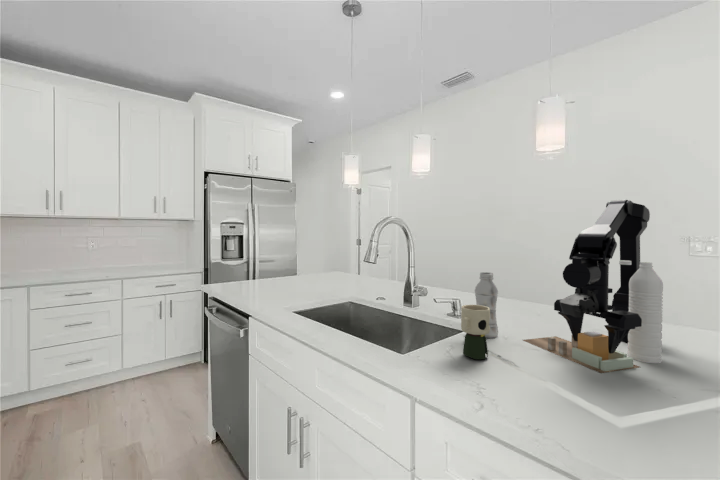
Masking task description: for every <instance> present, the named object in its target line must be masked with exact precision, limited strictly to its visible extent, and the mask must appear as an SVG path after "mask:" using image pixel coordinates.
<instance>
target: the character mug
mask: <svg viewBox="0 0 720 480" xmlns="http://www.w3.org/2000/svg"><path fill="white" fill-rule="evenodd" d="M460 312H461V313H460V316H461V317H460V319H461V321H460V325H461V331H462V332H463V333H465V336H464V340H463V347H462V355H464V356H466V357H468V358H471V359H474V360H485V359H486V358H489V353H488V351H489V350H488V345H487V343H488V342H487V338H486V337H485V334H488V333H489V332H490V326H489V321H490V308H489V307H486V306H482V305H477V304H465V305H461V309H460Z"/></svg>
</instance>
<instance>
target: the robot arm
mask: <svg viewBox="0 0 720 480" xmlns="http://www.w3.org/2000/svg"><path fill="white" fill-rule="evenodd" d="M650 215H651V213H650V210H649V208H648V207H646V205H644V204H640V203H636V202H633V201H631V200H630V199H629V200H628V199H618V200H617V199H616V200H610V201H607V203H606V206H605V209H604V210H603V212H602V213H601V215H600V216H599V217H598V219H597V220H596V222H595V223H594V224H593V225H592V226H590V227H586V228H584V229H583V230H581V232H580V233H578V235H577V236H576V237H575V239H574V242H573V246H572V248H571V250H570V254H569V257H568V260H571V263H569V264H567V265H566V266H565V267H564V268H563V271H562V278H563V281H564V282H565V284H567V285H568V286H569V287H572V288H575V289H574V294H570V295H567V296H566V297H564V298H562V299H561V298H560V299H556V300H555V301H554V303H553V310H554V311H557V314H558V315H561V316H562V317H563V318H564V319H565V320H566V322H567V325H568V327H569V330H570V333H571V337H572V336H573V338H574V341H578V333H582V329H583V322H584V316H585V315H588V316H593V317H597V318H601V319H604V320H605V323H607V324H605V325H603V326H604V327H605V329H606V331H607V333H608V335H607V336H608V350H609V353H610V354H612V353H614V352H615V350H616V351H617V348H618V347H619V346H620V345H621V343H622V342H625V343H628V342H629V341H628V333H629V330H630V329H635V327H641V326H642V319H641V317H640V316H639V315H638V314H637V313H632V312H629V280H630V278H631V277H632V276H633V274H634V273H635V272H636V271H637V270H638V269H639V268H640V266H639V265H640V262H641V236H642V234H643V233H644V231H646V229H647V227H648V223H649V222H650V218H651V217H650ZM615 234H616V235H617V236H618V237H619V261H620V260H625V261H632V262H631V265H621V264H619V267H620V269H619V271H620V272H619V273H620V274H619V275H620V280H619V283H620V287H619V288H618V289H617V291H615V292H614V294H613V288H611V287H609V273H610V271H609V269H610V266H609V265H610V260H611V259H613V256H614V253H615V251H616V249H617V247H618V243H617V242H616V238H615ZM609 294H613V297H612V298H613V299H612V302H611V304H609Z"/></svg>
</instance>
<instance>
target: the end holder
mask: <svg viewBox="0 0 720 480" xmlns="http://www.w3.org/2000/svg"><path fill="white" fill-rule="evenodd" d="M572 358H574V359H576V360H578V361H581V362H583V363H586V364H588V365H591V366H593V367H595V368H598V369H600V368H601V370H603V371H610V370H617V369H624V368H630V367H633V364H634V359H633V358H631V357H628V353H624V352H621V351H619V350H617V349H616V350H615V352H614V353H612V354H610V353H609V350H608V359H609V360H604V361H602V357H599V356H597V355H594V354H591V353H589V352H586V351H583V350H581V349H578V348H572Z"/></svg>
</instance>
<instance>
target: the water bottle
mask: <svg viewBox="0 0 720 480" xmlns="http://www.w3.org/2000/svg"><path fill="white" fill-rule="evenodd" d="M631 262H632V261H625V260H620V259H619V263H618V264H619V265H620V264H621V265H631ZM639 266H640V268H639V269H638V270H637V271H636V272H635V273H634V274H633V276H632V277H631V278H630V280H629V312H632V313H637V314H638V315H639V316H640V317H641V319H642V326H641V327H635V329H630V330H629V333H628V341H629V342H627V357H631V358H633V361H634V360H635V361H638V362H643V363H647V364H648V363H649V364H660V363H662V361H663V359H662V352H663V351H662V346H663V343H662V342H663V340H662V339H663V333H662V331H663V302H664V299H663V296H664V294H663V291H664V282H663V280H662V279H661V277H660V276H659V275H658V273H657V272H656V271H655V270H654V269H653V267H654V266H653V262H647V261H646V262H645V261H640V265H639Z"/></svg>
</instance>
